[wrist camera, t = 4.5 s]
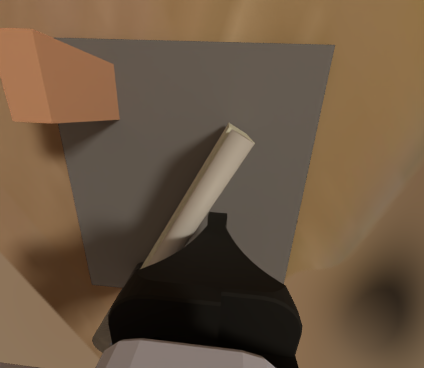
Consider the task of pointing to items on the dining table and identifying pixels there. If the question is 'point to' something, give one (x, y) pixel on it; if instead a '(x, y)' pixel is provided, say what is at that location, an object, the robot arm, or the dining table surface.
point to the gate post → (103, 333)
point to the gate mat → (194, 145)
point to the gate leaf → (202, 193)
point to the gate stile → (54, 80)
